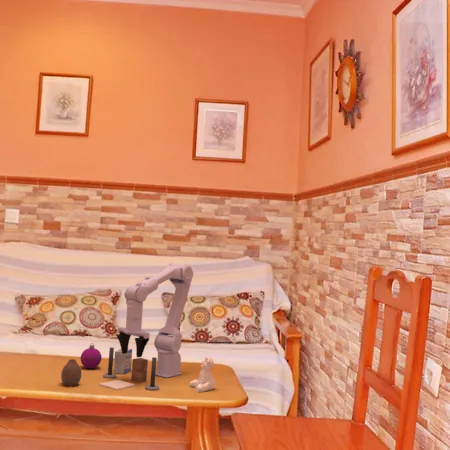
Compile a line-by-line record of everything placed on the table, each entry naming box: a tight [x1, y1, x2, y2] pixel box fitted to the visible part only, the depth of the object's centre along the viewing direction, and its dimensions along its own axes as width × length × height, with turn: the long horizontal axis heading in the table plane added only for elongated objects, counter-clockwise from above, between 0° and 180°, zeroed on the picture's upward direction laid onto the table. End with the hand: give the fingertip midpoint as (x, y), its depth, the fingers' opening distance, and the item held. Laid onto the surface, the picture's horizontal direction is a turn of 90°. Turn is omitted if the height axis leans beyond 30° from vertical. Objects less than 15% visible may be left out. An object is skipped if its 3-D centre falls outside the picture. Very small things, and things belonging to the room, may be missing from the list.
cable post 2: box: [144, 356, 160, 392], centre depth 201 cm, size 5×5×11 cm
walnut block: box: [131, 357, 149, 384], centre depth 211 cm, size 4×4×8 cm
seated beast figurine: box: [189, 355, 216, 393], centre depth 206 cm, size 10×9×12 cm
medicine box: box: [113, 348, 133, 375], centre depth 224 cm, size 8×4×9 cm, turn 168°
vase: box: [60, 358, 82, 387], centre depth 199 cm, size 7×7×9 cm
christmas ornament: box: [80, 343, 102, 370], centre depth 226 cm, size 8×8×10 cm
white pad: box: [99, 379, 136, 391], centre depth 202 cm, size 9×9×1 cm
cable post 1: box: [102, 346, 117, 379], centre depth 214 cm, size 5×5×11 cm
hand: (131, 355), depth 208 cm, fingers open, 7 cm apart
